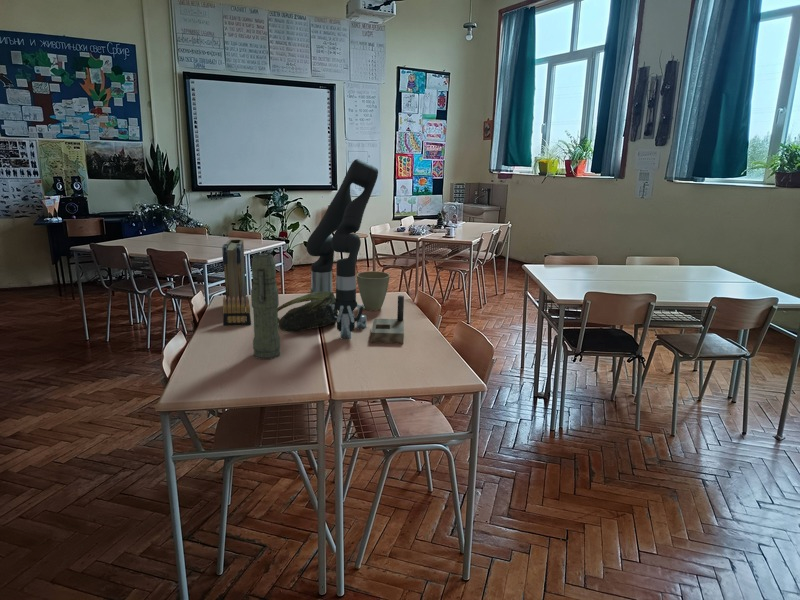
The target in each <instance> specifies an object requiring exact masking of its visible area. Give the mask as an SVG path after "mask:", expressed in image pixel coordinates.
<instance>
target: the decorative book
mask: <svg viewBox="0 0 800 600" xmlns="http://www.w3.org/2000/svg"><path fill="white" fill-rule="evenodd" d="M221 249H222V250H221V251H222V264H223V271H224V287H225V298H226V305H227V306H228V296H229V297H230V300H231V306H232V298H233V296H234V298H235V304H236V306H237V296H238V297H239V300H240V306H241V299H242V296H243V297H244V303H245V308H246V297H247V287H246V285H247V284H246V266H245V247H244V239H229V240H227V241H226V243H224V244H223V245H222V246H221ZM227 312H228V310H227ZM236 312H237V309H236Z"/></svg>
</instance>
